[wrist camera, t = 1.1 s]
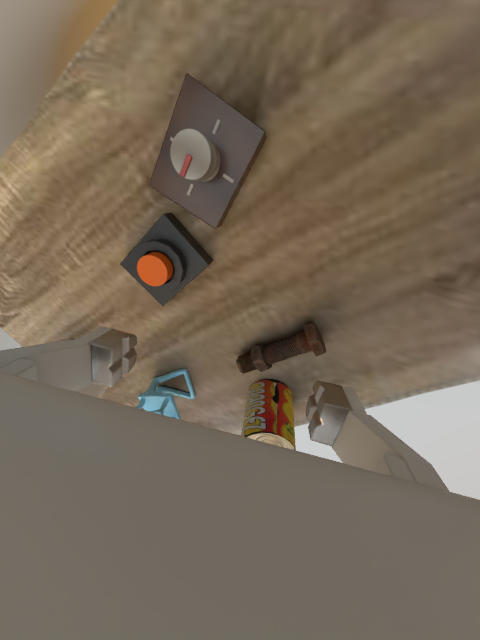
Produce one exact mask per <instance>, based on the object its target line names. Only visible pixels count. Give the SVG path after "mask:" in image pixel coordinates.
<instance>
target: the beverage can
mask: <svg viewBox="0 0 480 640" xmlns="http://www.w3.org/2000/svg"><path fill="white" fill-rule="evenodd" d="M241 436H243V437H247V438H250V439H254V440H258V441H262V442H265V443H269V444H273V445H277V446H280V447H284V448H288V449H292V450H295V434H294V417H293V400H292V393H291V390H290V389H289V388H288V386H287V385H285V384H284V383H282V382H280V381H278V380H273V379H263V380H259V381H257V382H255V383H254V384H252V385H251V387H250V388H249V391H248V397H247V403H246V409H245V415H244V422H243V428H242V434H241ZM295 451H296V450H295Z"/></svg>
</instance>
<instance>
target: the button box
mask: <svg viewBox="0 0 480 640" xmlns="http://www.w3.org/2000/svg"><path fill="white" fill-rule="evenodd" d="M152 252H160V253H162V254H164V255H166V256H167V257H168V258H169V260H170V261H171V263H172V266H173V274H172V276H171V278H170V279H169V280H168V281H166V282H165V283H164V284H162V285H160V286H151V285H148V284H147V283H145V282H144V281H143V280H142V279H141V278H140V276H139V274H138V271H137V264H138V261H139V259H140V258H141V257H143V256H145V255H147V254H149V253H152ZM212 261H213V260H212V259H211V257H210V256H209V255H208V254H207V253H206V252H205V251H204V249H203V248H202V247H201V246H200V245H199V244H198V243H197V241H196V240H195V239H194V238H193V237H192V236H191V235H190V233H189V232H188V231H187V230H186V229H185V228H184V227H183V225H182V224H181V223H180V222H179V221H178V220H177V218H176V217H175V216H174V215H173V214H172V213H167V214H163V215H162V216H161V218H160V219H159V220H158V221H157V222H156V223H155V224H154V226H153V227H152V228H151V229H150V230H149V231H148V233H147V234H146V235H145V236H144V237H143V238H142V239H141V241H140V242H139V243H138V244H137V245H136V246H135V248H134V249H133V250H132V251H131V252H130V253H129V254H128V256H127V257H126V258H125V259H124V260H123V261H122V263H121V265H122V266H123V267H124V268H125V269H126V270H127V271H128V272H129V273H130V274H131V275H132V276H133V277H134V278H135V279H136V280H137V281H138V282H139V283H140V284H141V285H142V286H143V287H144V288H145V289H146V290H147V291H148V292H149V293H150V294H151V295H152V296H153V297H154V298H155V299H156V300H157V301H158V302H159V303H160V304H161V305H162V306H164V305H165V304H166V303H167V302H168V301H169V300H170V299H172V298H173V297H174V296H175V295H176V294H177V293H178V292H179V291H180V290H182V289H183V288H184V287H185V286H186V285H187V284H188V283H189V282H190V281H192V280H193V279H194V278H195V277H196V276H197V275H198V274H199V273H201V272H202V271H203V270H204V269H205V268H206V267H207V266H208V265H209V264H210V263H211V262H212Z"/></svg>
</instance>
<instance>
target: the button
mask: <svg viewBox="0 0 480 640" xmlns="http://www.w3.org/2000/svg"><path fill="white" fill-rule="evenodd" d="M137 271H138V274H139V276H140V278H141V279H142V280H143V281H144V282H145V283H147V284H148V285H151V286H160V285H162V284H164V283H165V282H166V281H168V280H169V279H170V278H171V276H172V274H173V266H172V263H171V261H170V260H169V258H168V257H167V256H166V255H164V254H162V253H160V252H152V253H149V254H147V255H145V256H143V257H141V258H140V259H139V261H138V264H137Z"/></svg>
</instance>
